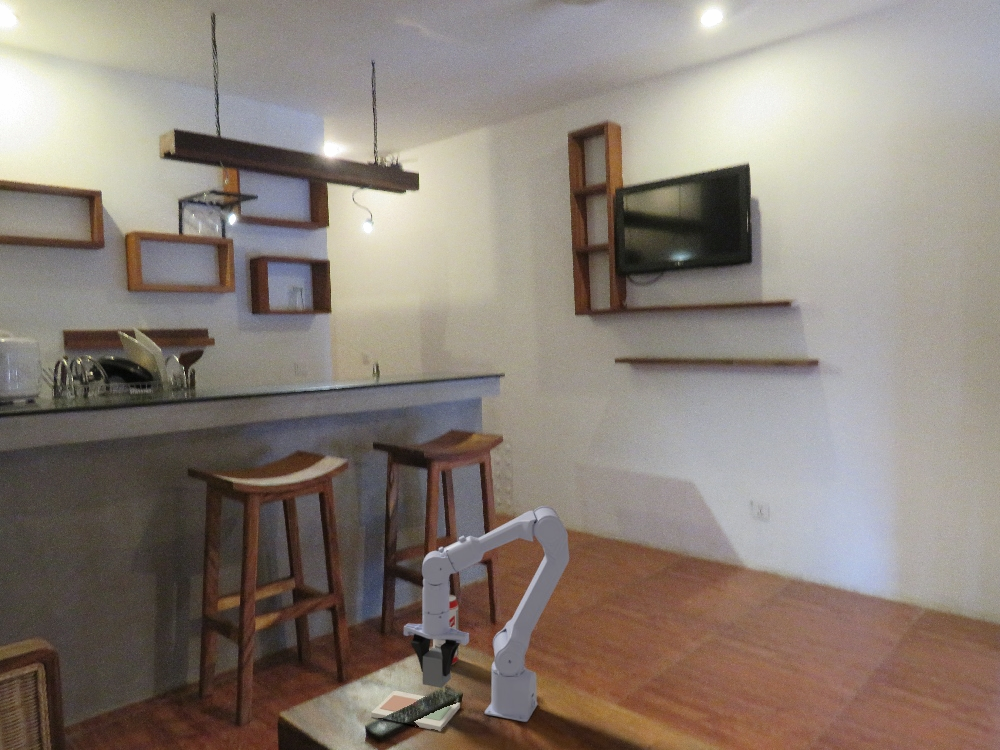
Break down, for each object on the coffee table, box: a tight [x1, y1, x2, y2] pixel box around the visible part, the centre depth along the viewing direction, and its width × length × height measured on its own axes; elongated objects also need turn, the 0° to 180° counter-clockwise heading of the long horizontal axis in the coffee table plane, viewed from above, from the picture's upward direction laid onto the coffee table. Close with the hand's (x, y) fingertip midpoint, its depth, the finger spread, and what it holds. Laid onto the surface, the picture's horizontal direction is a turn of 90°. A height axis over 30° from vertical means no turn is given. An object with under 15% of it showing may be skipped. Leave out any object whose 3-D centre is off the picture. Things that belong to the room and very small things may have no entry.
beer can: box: [432, 594, 459, 666], centre depth 171 cm, size 6×6×16 cm
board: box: [370, 690, 461, 732], centre depth 147 cm, size 16×10×1 cm, turn 70°
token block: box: [422, 647, 452, 689], centre depth 148 cm, size 4×4×6 cm
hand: (435, 672), depth 148 cm, fingers closed on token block, 4 cm apart
